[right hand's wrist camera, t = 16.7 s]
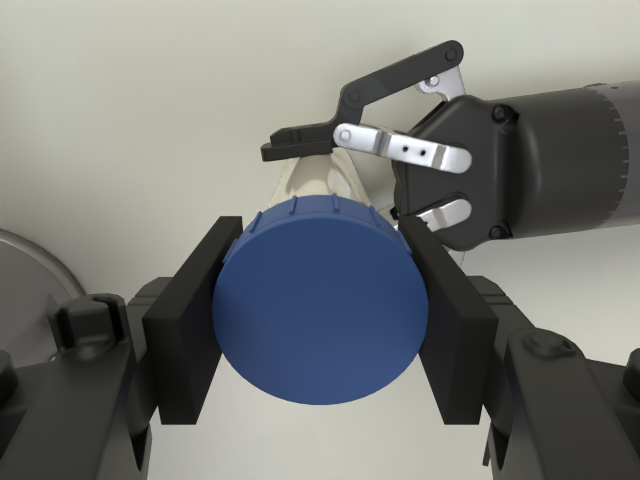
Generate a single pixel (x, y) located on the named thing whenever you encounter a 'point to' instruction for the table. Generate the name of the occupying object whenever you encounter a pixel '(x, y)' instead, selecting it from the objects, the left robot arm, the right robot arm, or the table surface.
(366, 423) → the table surface
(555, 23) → the table surface
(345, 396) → the lid
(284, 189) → the tube
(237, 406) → the table surface
